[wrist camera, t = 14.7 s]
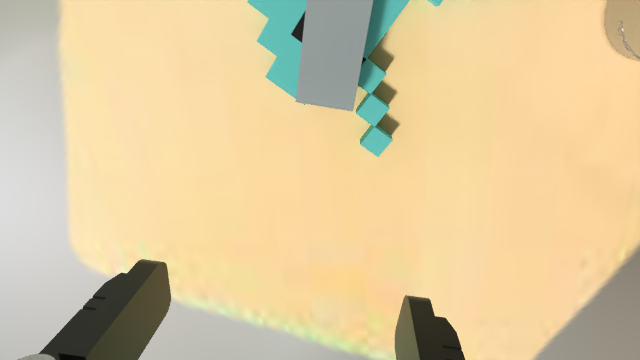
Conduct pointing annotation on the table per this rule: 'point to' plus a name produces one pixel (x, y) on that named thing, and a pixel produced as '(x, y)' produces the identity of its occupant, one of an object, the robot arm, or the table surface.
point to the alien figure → (286, 42)
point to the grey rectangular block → (332, 52)
